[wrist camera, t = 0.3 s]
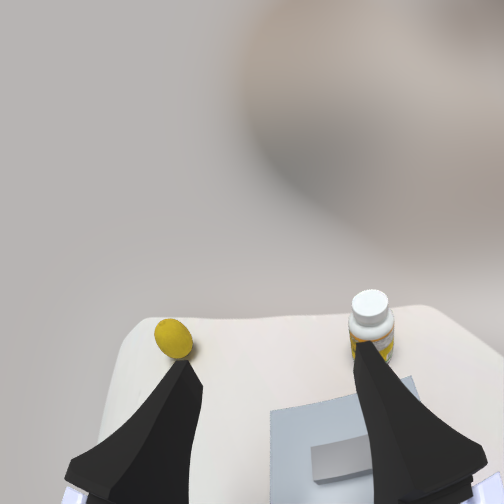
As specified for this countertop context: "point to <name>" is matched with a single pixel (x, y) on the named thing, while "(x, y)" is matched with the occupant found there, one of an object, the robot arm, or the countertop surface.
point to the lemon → (173, 338)
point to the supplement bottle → (372, 322)
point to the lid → (322, 453)
